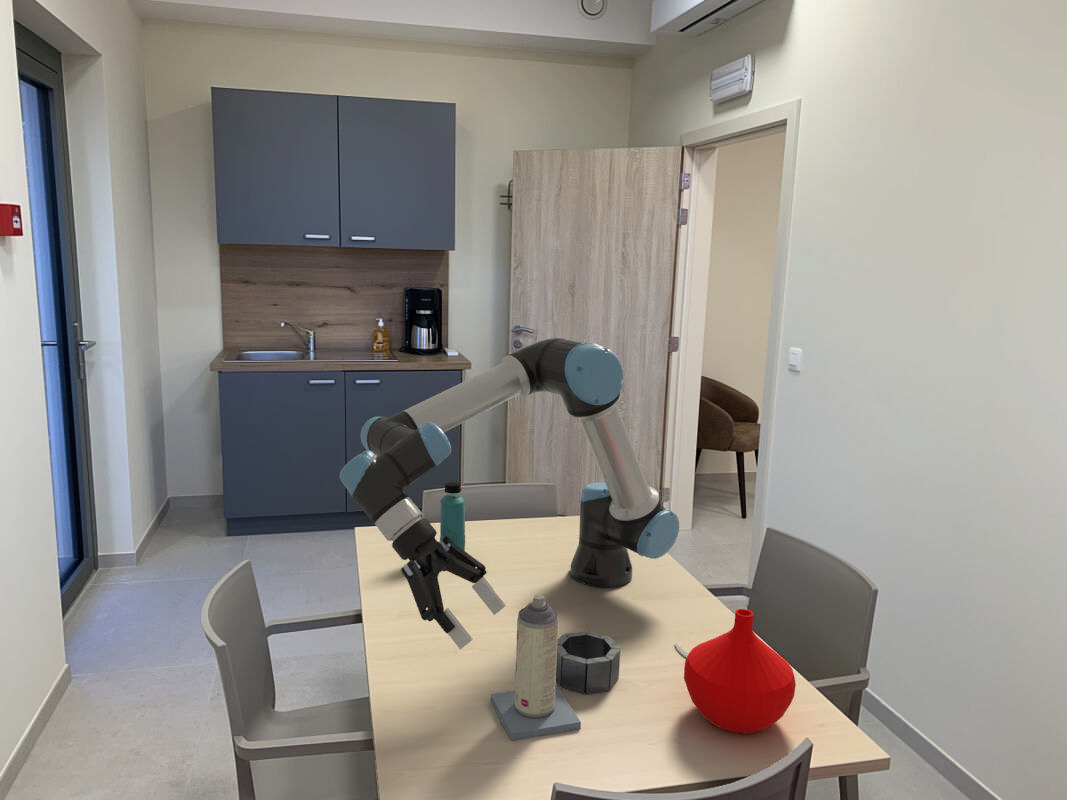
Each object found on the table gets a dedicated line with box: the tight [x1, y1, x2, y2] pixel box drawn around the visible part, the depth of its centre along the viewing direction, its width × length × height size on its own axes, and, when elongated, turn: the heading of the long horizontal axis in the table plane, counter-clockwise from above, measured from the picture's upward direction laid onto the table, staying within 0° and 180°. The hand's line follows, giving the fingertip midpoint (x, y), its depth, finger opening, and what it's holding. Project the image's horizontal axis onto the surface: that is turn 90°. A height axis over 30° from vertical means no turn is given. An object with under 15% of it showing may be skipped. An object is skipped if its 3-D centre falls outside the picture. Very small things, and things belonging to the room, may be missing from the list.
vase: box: [683, 608, 797, 735], centre depth 134 cm, size 18×18×19 cm
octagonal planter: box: [556, 630, 621, 695], centre depth 146 cm, size 12×12×6 cm
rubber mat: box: [490, 685, 582, 741], centre depth 134 cm, size 12×12×1 cm
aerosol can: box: [514, 594, 559, 719], centre depth 132 cm, size 7×7×20 cm
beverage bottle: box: [439, 481, 466, 552], centre depth 199 cm, size 6×7×20 cm
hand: (484, 626), depth 135 cm, fingers open, 13 cm apart
